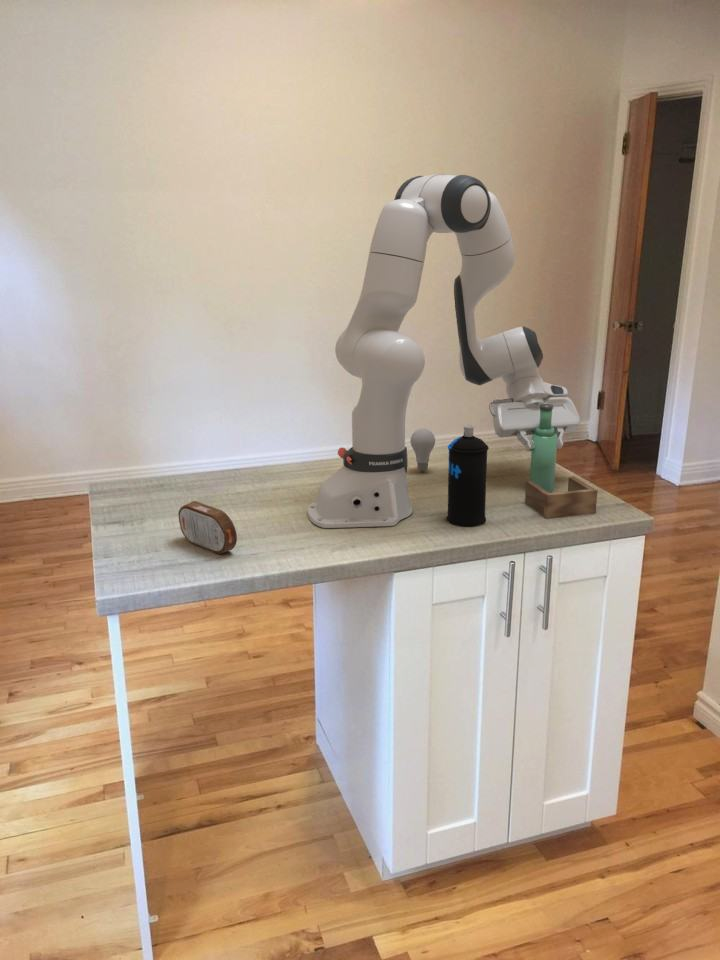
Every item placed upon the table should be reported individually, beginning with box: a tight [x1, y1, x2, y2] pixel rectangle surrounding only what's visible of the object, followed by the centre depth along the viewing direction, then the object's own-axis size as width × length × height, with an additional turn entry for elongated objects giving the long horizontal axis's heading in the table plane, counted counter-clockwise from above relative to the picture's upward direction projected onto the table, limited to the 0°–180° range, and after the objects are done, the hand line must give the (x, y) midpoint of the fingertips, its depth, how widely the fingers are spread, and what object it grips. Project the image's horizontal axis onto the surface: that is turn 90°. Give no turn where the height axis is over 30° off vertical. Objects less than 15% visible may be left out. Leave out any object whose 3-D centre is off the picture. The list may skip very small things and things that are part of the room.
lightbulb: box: [410, 428, 436, 473], centre depth 195 cm, size 6×6×11 cm
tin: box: [178, 500, 238, 555], centre depth 151 cm, size 15×3×8 cm, turn 48°
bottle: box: [529, 404, 557, 493], centre depth 179 cm, size 6×6×20 cm
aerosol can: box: [445, 424, 489, 528], centre depth 161 cm, size 8×8×20 cm
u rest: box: [524, 475, 598, 519], centre depth 169 cm, size 11×10×5 cm
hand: (545, 448), depth 178 cm, fingers closed on bottle, 6 cm apart
